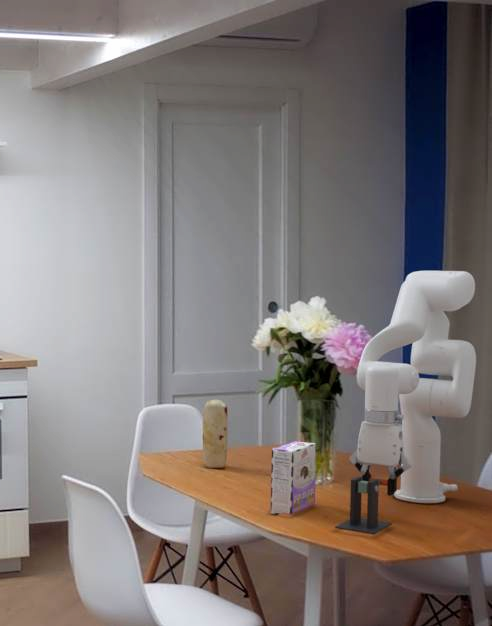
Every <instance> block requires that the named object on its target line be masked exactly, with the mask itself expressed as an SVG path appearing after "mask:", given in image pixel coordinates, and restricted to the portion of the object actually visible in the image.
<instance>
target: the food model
mask: <svg viewBox="0 0 492 626" xmlns="http://www.w3.org/2000/svg"><path fill="white" fill-rule="evenodd" d="M228 424H229V420H228V405H227V403H226V402H223V401H222V400H220V399H211V400H207V401H206V402H205V405H204V407H203V411H202V460H203V464H204V466H205V467H207V468H208V469H213V468H219V469H222V468H224V467H226V464H227V456H228V443H229V441H228V436H229V435H228V433H229V429H228V428H229V425H228Z"/></svg>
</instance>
